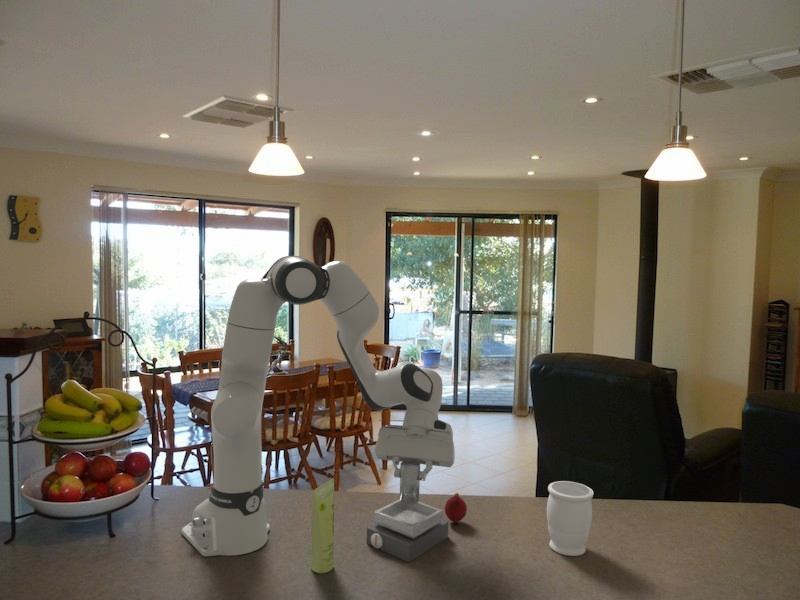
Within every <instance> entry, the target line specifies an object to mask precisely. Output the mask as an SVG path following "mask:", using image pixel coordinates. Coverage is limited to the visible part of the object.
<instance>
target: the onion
mask: <svg viewBox="0 0 800 600" xmlns="http://www.w3.org/2000/svg"><path fill="white" fill-rule="evenodd" d="M467 510H468V509H467V504H466V502H465V501H464V499H463V498H462V497H461V496H460V494H459V493H458V492H455V493H454V494H453V496H451V497H449V498H448V499H447V501H446V503H445V505H444V513H445V515H446V517H447V518H448V519H449V520H450V521H451V522H452V523H455V524H456V523H458V522H460V521H462V520H463V519H464V518H465V517H466V516H467Z"/></svg>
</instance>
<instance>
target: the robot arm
mask: <svg viewBox="0 0 800 600" xmlns="http://www.w3.org/2000/svg"><path fill="white" fill-rule="evenodd" d="M317 300H320V301H321V302H322V303H323V304H324V305H325V307H326V308H327V310H328V311H329V312H330V314H331V316H332V317H333V319H334V321H335V323H336V326H337V331H336V338H337V342H338V345H339V348H340V350H341V352H342V354H343V355H344V357H345V360H346V362H347V363H348V366H349V368H350V370H351V372H352V373H353V376H354V378H355V380H356V382H357V384H358V386H359V391H360V393H361V397H362V399H363V401H364V402H365V404H366V405H367V406H368V407H370V408H371V409H372V410H374V411H376V412H377V411H378V412H381V411H383V410H387V409H390V408H392V407H395V406H399V405H404V406H405V407H406V410H405V413H404V417H403V420H402V425H399V424H395V425H394V424H389V423H388V424H387V423H386V424H385V425H382V426H381V427H380V428H379V429H378V430H379V431H378V433H377V437H378V438H377V440H376V443H375V446H374V455H375V456H376V458H377V459H378V460H382V461H383V460H384V461H392V465H393V467H394V471H393V477H394V478H396V479H397V478H399V479H400V468H398V466H400V463H401V462H403V461H416V462H418V463H420V465H425V468H424V469H423V471H422V470H420V472H419V480H420V482H421V481H422V482H425V481H426V479H427V475H428V474H429V473H430V472H431V470H432V469H433V466H435V467H444V468H445V467H446V468H451V467H452V466H454V464H455V459H456V457H455V454H456V453H455V451H456V450H455V443H454V439H453V438H454V431H453V427H452V425H451V424H450V423H448V422H445V421H443V420H442V419H439V414H438V413H439V410H441V406H442V405H441V404H442V398H443V390H444V389H443V379H442V377H441V374H439V373H438V372H437V371H436V370H433V369H431V368H420V367H419V366H418V365H416V364H414V363H405V364H401V365H398V366H395V367H392V368H389V369H386V370H378V369H377V368H376V367H375V365H374V364H373V361H372V360H371V358H370V355H369V353H368V352H367V349H366V348H365V345H364V344H365V343H364V339H365V338H366V337H367V336H368V335H369V333H371V331H372V330H373V329H374V327H375V326H376V324H377V323H378V320H379V315H380V313H379V312H380V308H379V306H378V303H377V301H376V298H375V297H374V296H373V294H372V292H371V291H370V290H369V288H368V286H367V285H366V284H365V282H364V281H363V280H362V278H361V277H360V276H359V275H358V274H357V272H356V271H355V270H354V269H353V268H352V267H351V266H350V265H349V264H348V263H347V262H345V261H342V260H334V261H329V262H327V263H326V264H324V265H323V266H320V265H319V264H316V263H314V262H312V261H311V260H308V259H307V258H305V257H303V256H298V255H287V256H282V257H280V258H278V259H277V260H276V261H275V262H273V264H272V265H271V266H270V268H269V269H268V270H267V271H266V273H265V274H264V275H263V276H262V278H255V277H254V278H252V277H251V278H248V279H244V280H242V281H241V282H239V284H238V285H237V287H236V290H235V292H234V295H233V297H232V300H231V304H230V307H229V311H228V317H227V322H226V329H225V334H224V335H225V336H224V341H223V347H222V353H221V365H220V372H219V373H220V376H219V384H218V390H217V393H216V396H215V398H214V401H213V403H212V406H211V411H210V413H211V414H210V418H211V435H212V436H211V437H212V439H211V440H212V448H213V483H209V484H207V486H208V487H207V490H210V493H209V496H208V498H206V499H205V500H204V501H202V502H201V503H199V504H198V505H197V506H195V508H194V509H193V511H192V515H191V522H189V523H188V524H186V525H185V526H183V527H182V529H181V535H183V537H184V538H186V540H187V541H188V542H189V543H190V544H191V545H192V546H193V548H195V550H197V552H198V553H200V555H201V556H202V557H213V556H238V555H239V556H240V555H244V554H249V553H252V552H254V551H257V550H259V549H260V548H262V547H263V546H264V545H265V544H266V543H267V542H268V540H269V539H268V538H269V537H268V533H269V531H270V530H271V527H270V523H269V522H267V519H268V518H267V512H266V511H267V509H266V501H265V498H264V481H263V480H262V469H263V468H262V466H263V465H262V463H263V462H262V461H263V460H262V458H263V452H262V451H263V450H262V448H263V447H262V411H263V403H264V396H265V391H266V384H267V379H268V372H269V367H270V360H271V356H272V348H273V343H274V336H275V331H276V325H277V323H276V322H277V316H278V313H279V311H280V309H281V307H282V306H283V305H284V304H285V303H288V304H291V305H296V306H299V305H305V304H309V303H312V302H316V301H317Z"/></svg>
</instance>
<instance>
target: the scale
mask: <svg viewBox="0 0 800 600" xmlns="http://www.w3.org/2000/svg"><path fill="white" fill-rule="evenodd" d="M448 537H449V521H448V520H445V519H442V522H440V523H438V524H437V525H435V526H433V527H432V528H430V529H428V530H427V531H425V532H423V533H422V534H420V535H418V536H417V537H415V538H413V539H412V538H410V537H407V536H405V535H403V534H400V533H398V532H395V531H393V530H390V529H388V528H386V527H383V526H381V525H378V524H376V523H373V524H371V525H370V526H367V527H366V544H367V545H369V546H371V547H373V548H375V549H378V550H380V551H382V552H384V553H387V554H389V555H392V556H394V557H396V558H398V559H400V560H403V561H405V562H408V563H410V562H411V561H413V560H415V559H416V558H418V557H419V556H422V555H423V554H424V553H426V552H427V551H429V550H430V549H432V548H433V547H435V546H436V545H438V544H440V543H441V542H443V541H444V540H446V539H448Z"/></svg>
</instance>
